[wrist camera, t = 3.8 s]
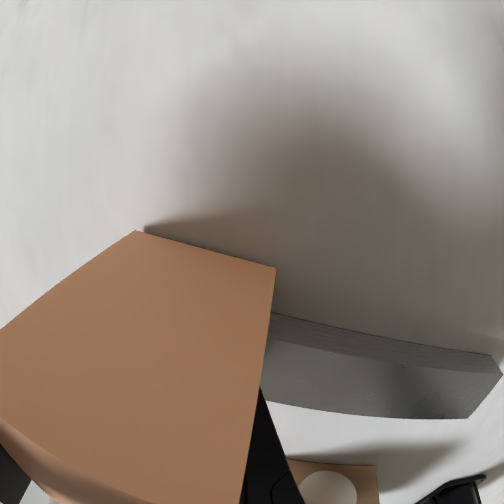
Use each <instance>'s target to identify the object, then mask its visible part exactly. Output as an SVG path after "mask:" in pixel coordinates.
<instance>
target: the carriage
mask: <svg viewBox="0 0 504 504" xmlns="http://www.w3.org/2000/svg"><path fill="white" fill-rule="evenodd" d="M275 276H276V268H274V267H270V266H267V265H263V264H259V263H255V262H251V261H248V260H244V259H240V258H236V257H232V256H229V255H225V254H221V253H217V252H214V251H210V250H206V249H203V248H199V247H195V246H191V245H188V244H184V243H180V242H177V241H173V240H169V239H165V238H162V237H158V236H154V235H151V234H147V233H143V232H140V231H136V230H135V231H133V232H132V233H130V234H128V235H127V236H125V237H124V238H122V239H121V240H119V241H118V242H116V243H115V244H113V245H112V246H110V247H109V248H107V249H106V250H105V251H103V252H102V253H100V254H99V255H97V256H96V257H94V258H93V259H92V260H90V261H89V262H87V263H86V264H84V265H83V266H82V267H80V268H79V269H77V270H76V271H75V272H73V273H72V274H71V275H69V276H68V277H66V278H65V279H64V280H62V281H61V282H60V283H58V284H57V285H56V286H54V287H53V288H52V289H50V290H49V291H48V292H47V293H45V294H44V295H43V296H41V297H40V298H39V299H37V300H36V301H35V302H34V303H32V304H31V305H30V306H29V307H27V308H26V309H25V310H24V311H22V312H21V313H20V314H19V315H18V316H16V317H15V318H14V319H13V320H12V321H10V322H9V323H8V324H7V325H6V326H4V327H3V328H2V329H1V330H0V444H1V445H2V446H3V448H4V449H5V450H6V451H7V453H8V454H9V455H10V456H11V457H12V458H13V460H14V461H15V462H16V463H17V464H18V465H19V466H20V467H21V469H22V470H23V471H24V472H25V473H26V474H27V475H28V476H29V477H30V478H31V479H32V480H33V481H34V482H35V483H36V484H37V485H38V486H39V487H40V488H41V489H42V490H43V491H44V492H45V493H46V494H47V495H48V496H49V497H50V498H52V499H53V500H55V501H57V502H58V503H60V504H239V500H240V494H241V489H242V484H243V478H244V473H245V468H246V462H247V457H248V451H249V445H250V440H251V434H252V428H253V422H254V416H255V410H256V404H257V398H258V392H259V385H260V379H261V373H262V366H263V360H264V353H265V346H266V340H267V333H268V326H269V319H270V312H271V305H272V298H273V291H274V283H275Z"/></svg>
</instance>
